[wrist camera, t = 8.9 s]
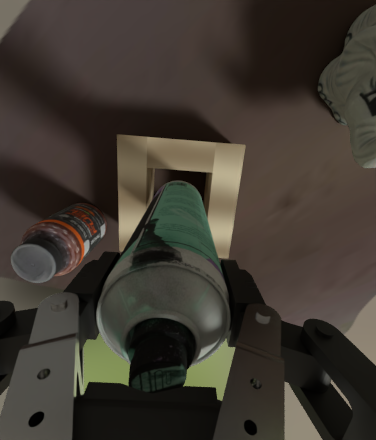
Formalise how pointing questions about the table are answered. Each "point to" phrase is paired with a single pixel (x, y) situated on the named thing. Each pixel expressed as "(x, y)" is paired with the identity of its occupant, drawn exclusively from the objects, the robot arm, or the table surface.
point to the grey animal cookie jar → (355, 87)
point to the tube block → (178, 160)
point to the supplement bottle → (58, 243)
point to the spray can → (166, 293)
